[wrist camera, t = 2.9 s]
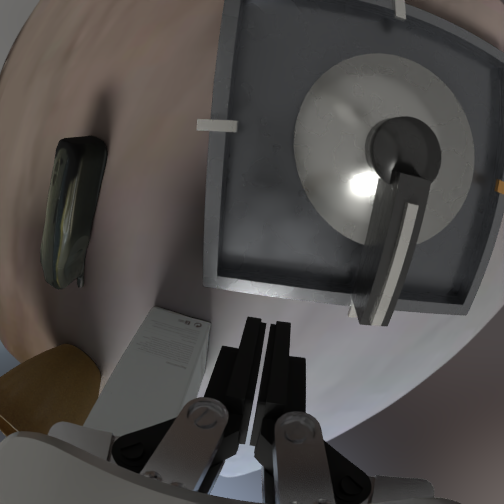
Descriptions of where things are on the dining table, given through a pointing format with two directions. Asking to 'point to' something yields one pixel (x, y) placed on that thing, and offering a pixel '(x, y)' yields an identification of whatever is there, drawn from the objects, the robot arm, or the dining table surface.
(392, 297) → the dial
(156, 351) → the skincare box
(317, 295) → the housing
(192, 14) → the dining table surface
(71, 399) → the plant pot
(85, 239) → the green cucumber
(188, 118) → the dining table surface
